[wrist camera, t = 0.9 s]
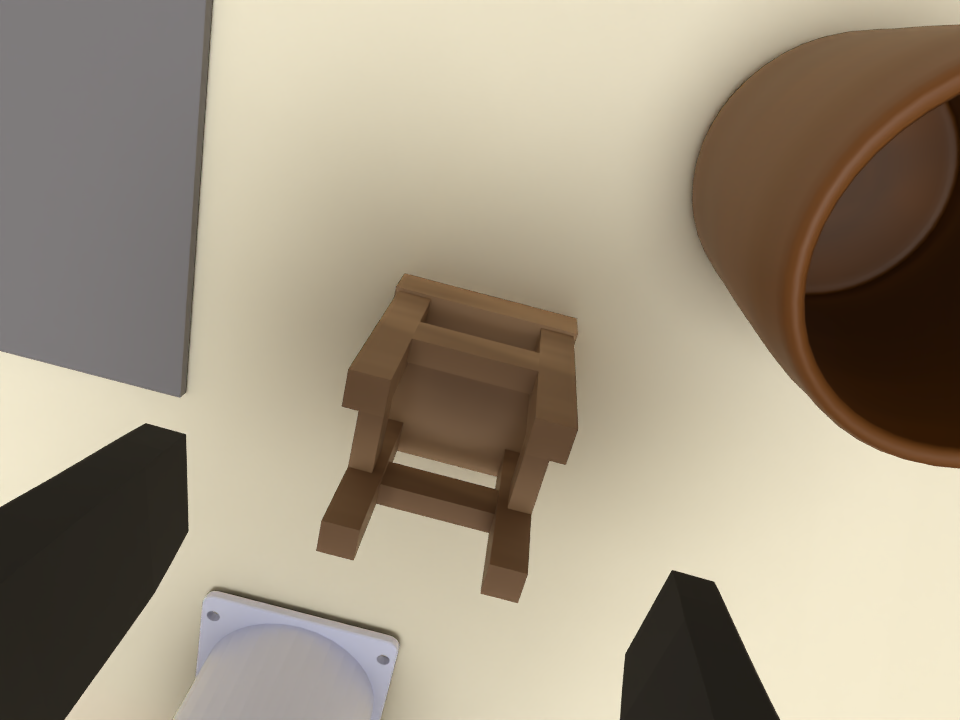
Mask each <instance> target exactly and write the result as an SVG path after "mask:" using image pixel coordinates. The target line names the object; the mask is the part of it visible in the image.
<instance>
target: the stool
mask: <svg viewBox="0 0 960 720" xmlns="http://www.w3.org/2000/svg"><path fill="white" fill-rule="evenodd" d="M577 335H578V330H577V318H573V317H569V316H565V315H561V314H557V313H554V312H550V311H546V310H542V309H538V308H535V307H531V306H527V305H523V304H519V303H515V302H512V301H508V300H504V299H500V298H496V297H493V296H489V295H485V294H481V293H477V292H473V291H470V290H466V289H462V288H458V287H454V286H451V285H447V284H443V283H439V282H435V281H431V280H428V279H424V278H420V277H416V276H412V275H409V274H404V276H403V277H402V279H401V280H400V282H399V283H398V285H397V286H396V290H395V295H394V299H393V300H392V302H391V303H390V305H389V307H388V308H387V310H386V311H385V313H384V314H383V316H382V318H381V319H380V321H379V322H378V324H377V325H376V327H375V328H374V330H373V332H372V333H371V335H370V336H369V338H368V339H367V341H366V342H365V344H364V346H363V347H362V349H361V350H360V352H359V353H358V355H357V356H356V358H355V360H354V361H353V363H352V364H351V366H350V367H349V369H348V374H347V380H346V386H345V391H344V397H343V403H342V407H346V408H350V409H354V410H357V411H359V412H358V418H357V423H356V428H355V433H354V439H353V444H352V449H351V454H350V460H349V465H348V468H347V470H346V472H345V474H344V476H343V478H342V480H341V482H340V484H339V486H338V488H337V490H336V492H335V494H334V496H333V498H332V501H331V503H330V505H329V507H328V509H327V511H326V513H325V515H324V517H323V519H322V521H321V527H320V532H319V538H318V544H317V549H316V551H319V552H323V553H327V554H331V555H334V556H338V557H342V558H346V559H350V560H354V558H355V556H356V553H357V551H358V548H359V546H360V543H361V540H362V538H363V535H364V533H365V530H366V528H367V525H368V523H369V520H370V518H371V515H372V513H373V510H374V508H375V505H376V504H380V505H384V506H388V507H391V508H395V509H399V510H403V511H407V512H411V513H415V514H418V515H422V516H426V517H430V518H434V519H438V520H441V521H445V522H449V523H453V524H457V525H461V526H464V527H468V528H472V529H476V530H480V531H484V532H488V533H489V537H488V544H487V551H486V558H485V565H484V572H483V579H482V586H481V594H485V595H488V596H492V597H496V598H500V599H504V600H508V601H512V602H515V603H518V601H519V598H520V595H521V592H522V589H523V587H524V584H525V581H526V578H527V575H528V562H529V545H530V528H531V514H532V511H533V508H534V505H535V502H536V499H537V496H538V493H539V490H540V487H541V484H542V481H543V478H544V475H545V472H546V469H547V466H548V463H549V461H553V462H557V463H560V464H564V465H566V463H567V460H568V457H569V454H570V451H571V448H572V445H573V442H574V439H575V437H576V434H577V431H578V416H577V396H576V376H575V355H574V344H575V341H576V338H577ZM397 451H401V452H405V453H408V454H412V455H416V456H420V457H424V458H428V459H431V460H435V461H439V462H443V463H447V464H451V465H454V466H458V467H462V468H466V469H470V470H474V471H477V472H481V473H485V474H489V475H493V476H497V481H496V488H495V489H492V488H488V487H484V486H481V485H477V484H473V483H469V482H465V481H461V480H458V479H454V478H450V477H446V476H442V475H438V474H435V473H431V472H427V471H423V470H419V469H415V468H412V467H408V466H404V465H400V464H396V463H392V462H393V460H394V457H395V454H396V452H397Z"/></svg>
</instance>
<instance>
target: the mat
mask: <svg viewBox="0 0 960 720" xmlns="http://www.w3.org/2000/svg"><path fill="white" fill-rule="evenodd" d="M212 1H213V0H0V351H3V352H6V353H10V354H14V355H18V356H22V357H26V358H30V359H33V360H37V361H41V362H45V363H49V364H53V365H56V366H60V367H64V368H68V369H72V370H76V371H80V372H83V373H87V374H91V375H95V376H99V377H103V378H107V379H110V380H114V381H118V382H122V383H126V384H130V385H134V386H137V387H141V388H145V389H149V390H153V391H157V392H160V393H164V394H168V395H172V396H176V397H181V396H183V395H184V394H185V393H186V382H187V367H188V352H189V338H190V323H191V308H192V294H193V279H194V265H195V250H196V235H197V221H198V206H199V191H200V177H201V162H202V148H203V133H204V118H205V104H206V89H207V74H208V60H209V45H210V31H211V16H212Z"/></svg>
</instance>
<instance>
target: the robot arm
mask: <svg viewBox="0 0 960 720" xmlns="http://www.w3.org/2000/svg"><path fill="white" fill-rule="evenodd" d="M188 531H189V529H188V492H187V454H186V434H183V433H179V432H176V431H172V430H168V429H165V428H161V427H158V426H154V425H150V424H147V423H145V424H143V425H142V426H140V427H138V428H136V429H134V430H133V431H131V432H129V433H127V434H126V435H124V436H122V437H120V438H119V439H117V440H115V441H114V442H112V443H110V444H108V445H107V446H105V447H103V448H102V449H100V450H98V451H97V452H95V453H93V454H92V455H90V456H88V457H86V458H85V459H83V460H81V461H80V462H78V463H76V464H75V465H73V466H71V467H69V468H68V469H66V470H64V471H63V472H61V473H59V474H58V475H56V476H54V477H52V478H51V479H49V480H47V481H46V482H44V483H42V484H40V485H38V486H37V487H35V488H33V489H31V490H30V491H28V492H26V493H24V494H22V495H21V496H19V497H17V498H15V499H14V500H12V501H10V502H8V503H7V504H5V505H3V506H1V507H0V720H64V719H65V718H66V717H67V715H68V714H69V712H70V711H71V710H72V708H73V707H74V705H75V704H76V703H77V701H78V700H79V698H80V697H81V696H82V694H83V693H84V692H85V690H86V689H87V687H88V686H89V685H90V683H91V682H92V680H93V679H94V678H95V676H96V675H97V673H98V672H99V671H100V669H101V668H102V666H103V665H104V664H105V662H106V661H107V660H108V658H109V657H110V655H111V654H112V653H113V651H114V650H115V648H116V647H117V646H118V644H119V643H120V641H121V640H122V639H123V637H124V636H125V634H126V633H127V632H128V630H129V629H130V627H131V626H132V624H133V623H134V622H135V620H136V619H137V617H138V616H139V615H140V613H141V612H142V610H143V609H144V607H145V606H146V605H147V603H148V602H149V600H150V599H151V597H152V596H153V594H154V593H155V591H156V589H157V588H158V586H159V584H160V582H161V581H162V579H163V577H164V575H165V574H166V572H167V570H168V568H169V566H170V565H171V563H172V561H173V559H174V557H175V555H176V553H177V552H178V550H179V548H180V546H181V544H182V542H183V540H184V538H185V537H186V535H187V533H188ZM213 611H214V612H216V613H218V614H216V613H214V612H213ZM398 651H399V642H398V640H397V639H395V638H394V637H392V636H390V635H386V634H382V633H378V632H375V631H371V630H367V629H363V628H359V627H355V626H351V625H347V624H344V623H340V622H336V621H332V620H328V619H324V618H320V617H316V616H313V615H309V614H305V613H301V612H297V611H293V610H289V609H285V608H281V607H278V606H274V605H270V604H266V603H262V602H258V601H254V600H250V599H247V598H243V597H239V596H235V595H231V594H227V593H223V592H219V591H212V592H209V593H208V594H207V595H206V597H205V599H204V600H203V603H202V614H201V625H200V635H199V646H198V657H197V668H196V678H195V681H194V682H193V684H192V686H191V688H190V689H189V691H188V693H187V695H186V696H185V698H184V700H183V702H182V703H181V705H180V707H179V709H178V710H177V712H176V714H175V716H174V718H173V719H172V720H381V716H382V712H383V708H384V704H385V700H386V697H387V693H388V689H389V685H390V681H391V677H392V674H393V670H394V666H395V662H396V658H397V654H398ZM381 655H385V656H387V657H383V656H381ZM620 720H780V719H779V717H778V715H777V713H776V711H775V709H774V707H773V705H772V703H771V701H770V699H769V697H768V695H767V693H766V691H765V689H764V686H763V684H762V682H761V680H760V678H759V676H758V674H757V672H756V670H755V668H754V666H753V663H752V661H751V659H750V657H749V655H748V653H747V651H746V649H745V646H744V644H743V642H742V640H741V638H740V636H739V634H738V631H737V629H736V627H735V625H734V623H733V620H732V618H731V616H730V614H729V612H728V610H727V607H726V605H725V603H724V601H723V599H722V597H721V594H720V592H719V590H718V588H717V586H716V585H715V583H714V582H713V581H709V580H706V579H702V578H699V577H695V576H691V575H688V574H684V573H681V572H677V571H674V570H672V571H671V573H670V575H669V577H668V578H667V580H666V582H665V584H664V585H663V587H662V589H661V591H660V593H659V594H658V596H657V598H656V600H655V602H654V603H653V605H652V607H651V609H650V611H649V612H648V614H647V616H646V618H645V620H644V621H643V623H642V625H641V627H640V629H639V630H638V632H637V634H636V636H635V638H634V639H633V641H632V643H631V645H630V647H629V648H628V650H627V652H626V654H625V663H624V675H623V686H622V699H621V713H620Z"/></svg>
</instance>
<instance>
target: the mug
mask: <svg viewBox="0 0 960 720" xmlns="http://www.w3.org/2000/svg"><path fill="white" fill-rule="evenodd" d="M692 203H693V214H694V220H695V225H696V229H697V233H698V236H699V238H700V241H701V243H702V246H703V249H704V251H705V253H706V255H707V257H708V259H709V260H710V262H711V264H712V266H713V267H714V269H715V271H716V272H717V274H718V275H719V277H720V278H721V280H722V281H723V282H724V284H725V285H726V287H727V289H728V290H729V292H730V294H731V295H732V297H733V299H734V300H735V302H736V303H737V305H738V306H739V308H740V309H741V311H742V312H743V314H744V315H745V317H746V318H747V320H748V321H749V322H750V324H751V325H752V327H753V328H754V330H755V331H756V333H757V334H758V336H759V337H760V339H761V340H762V342H763V343H764V344H765V346H766V347H767V349H768V350H769V352H770V353H771V354H772V356H773V357H774V358H775V359H776V361H777V362H778V363H779V364H780V366H781V367H782V368H783V369H784V371H785V372H786V373H787V375H788V376H789V377H790V378H791V379H792V380H793V381H794V382H795V383H796V384H797V385H798V386H799V387H800V388H801V389H802V390H803V391H804V392H805V393H806V394H807V395H808V396H809V397H810V398H811V400H812V401H813V402H814V403H815V404H816V405H817V406H818V407H819V408H820V409H821V410H822V411H823V412H824V413H825V414H826V415H827V416H828V417H829V418H830V419H831V420H832V421H833V422H834V423H835V424H837V425H838V426H839V427H840V428H842V429H843V430H845V431H846V432H847V433H849V434H850V435H852V436H853V437H855V438H856V439H858V440H859V441H861V442H863V443H865V444H867V445H869V446H871V447H873V448H875V449H877V450H879V451H882V452H885V453H888V454H891V455H893V456H896V457H899V458H902V459H905V460H910V461H914V462H919V463H924V464H928V465H933V466H940V467H950V468H960V25H940V26H922V27H909V28H896V29H876V30H863V31H851V32H845V33H840V34H836V35H831V36H826V37H822V38H819V39H816V40H813V41H810V42H808V43H805V44H802V45H800V46H798V47H796V48H794V49H792V50H790V51H787V52H785V53H783V54H782V55H780V56H779V57H777V58H775V59H774V60H772V61H771V62H769V63H768V64H766V65H765V66H763V67H762V68H761V69H760V70H758V71H757V72H756V73H755V74H753V75H752V76H751V77H750V78H749V79H747V80H746V81H745V82H744V83H743V84H742V85H741V86H740V87H739V89H738V90H737V91H736V92H735V93H734V94H733V95H732V96H731V97H730V98H729V100H728V101H727V102H726V104H725V105H724V106H723V108H722V109H721V110H720V112H719V113H718V115H717V117H716V118H715V120H714V122H713V123H712V125H711V127H710V128H709V131H708V133H707V135H706V137H705V140H704V142H703V144H702V147H701V150H700V153H699V156H698V160H697V163H696V168H695V174H694V180H693V194H692Z"/></svg>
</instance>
